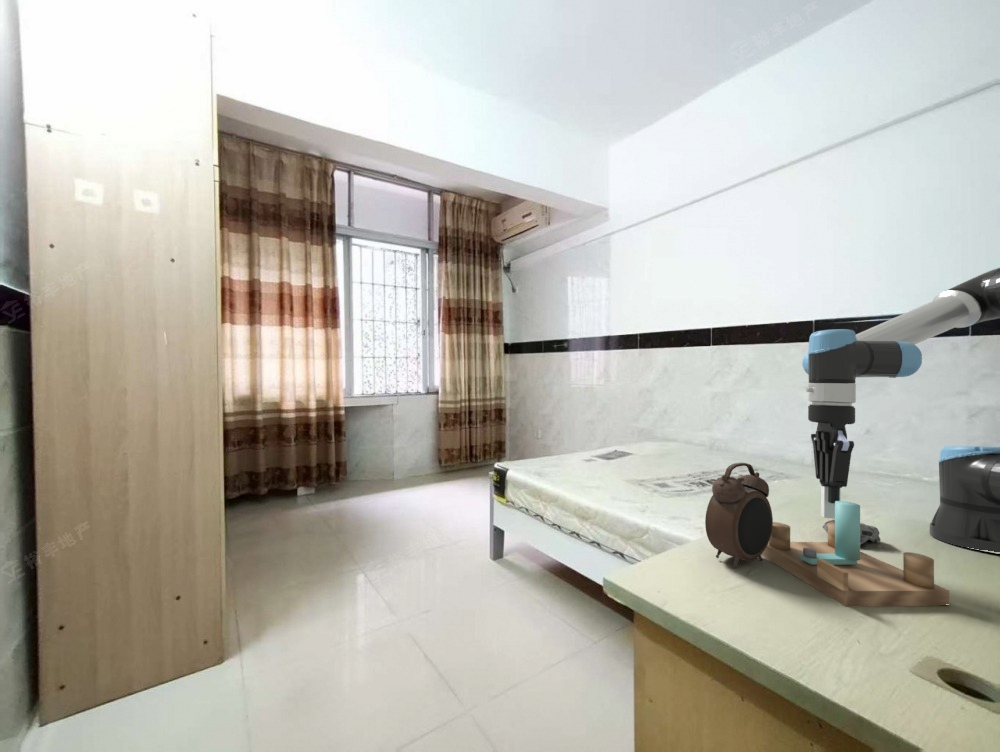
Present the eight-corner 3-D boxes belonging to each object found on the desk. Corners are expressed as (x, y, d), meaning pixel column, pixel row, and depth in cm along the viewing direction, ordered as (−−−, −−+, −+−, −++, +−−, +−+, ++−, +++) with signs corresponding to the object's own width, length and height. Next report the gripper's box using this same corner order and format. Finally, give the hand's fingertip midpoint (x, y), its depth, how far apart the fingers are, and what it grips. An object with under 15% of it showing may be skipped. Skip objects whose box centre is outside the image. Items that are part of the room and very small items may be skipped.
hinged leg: (797, 557, 76) (797, 500, 76) (847, 557, 76) (847, 500, 77) (812, 566, 72) (812, 506, 73) (865, 565, 73) (865, 506, 73)
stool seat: (839, 553, 85) (839, 521, 85) (949, 605, 65) (949, 563, 65) (757, 553, 84) (757, 521, 84) (843, 606, 64) (843, 563, 64)
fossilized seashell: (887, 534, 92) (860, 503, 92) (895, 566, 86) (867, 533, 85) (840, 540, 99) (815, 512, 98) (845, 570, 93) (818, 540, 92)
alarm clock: (737, 576, 74) (738, 469, 74) (701, 560, 80) (702, 462, 81) (780, 561, 80) (780, 464, 81) (744, 548, 87) (744, 458, 87)
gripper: (797, 402, 89) (796, 506, 89) (823, 404, 77) (822, 525, 76) (837, 403, 87) (837, 510, 86) (871, 406, 74) (871, 531, 74)
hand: (830, 517), depth 81 cm, fingers closed
